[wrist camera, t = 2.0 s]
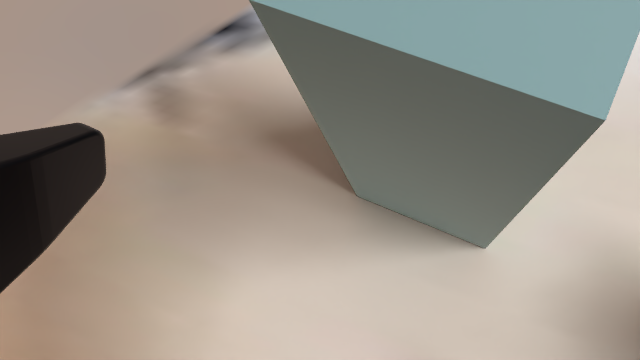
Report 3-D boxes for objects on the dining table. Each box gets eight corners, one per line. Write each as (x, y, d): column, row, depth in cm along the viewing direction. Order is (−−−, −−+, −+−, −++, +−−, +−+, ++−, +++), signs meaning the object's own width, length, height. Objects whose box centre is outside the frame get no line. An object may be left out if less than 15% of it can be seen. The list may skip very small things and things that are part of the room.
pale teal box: (485, 248, 19) (605, 120, 6) (356, 195, 20) (248, -1, 8) (518, 164, 19) (693, -109, 7) (391, 117, 20) (342, -193, 8)
